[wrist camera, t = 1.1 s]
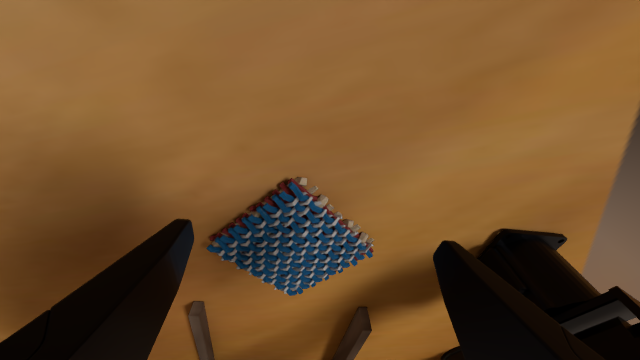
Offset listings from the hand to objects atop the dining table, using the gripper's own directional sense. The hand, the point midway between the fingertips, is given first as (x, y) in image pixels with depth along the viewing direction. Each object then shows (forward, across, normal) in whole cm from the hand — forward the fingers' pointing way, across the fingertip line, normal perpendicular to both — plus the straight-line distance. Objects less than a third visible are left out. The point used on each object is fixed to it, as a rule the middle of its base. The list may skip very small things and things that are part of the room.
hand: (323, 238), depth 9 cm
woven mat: (+9, 0, +10) cm, 13 cm away
